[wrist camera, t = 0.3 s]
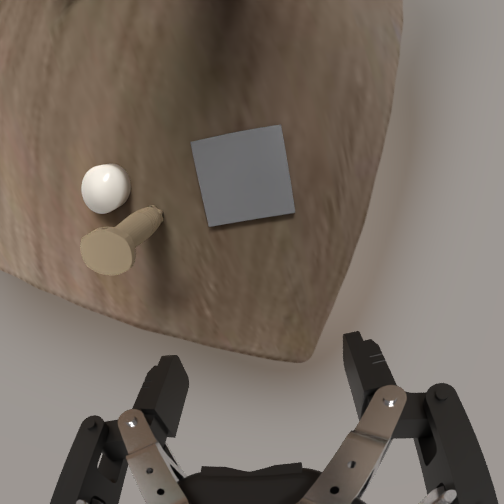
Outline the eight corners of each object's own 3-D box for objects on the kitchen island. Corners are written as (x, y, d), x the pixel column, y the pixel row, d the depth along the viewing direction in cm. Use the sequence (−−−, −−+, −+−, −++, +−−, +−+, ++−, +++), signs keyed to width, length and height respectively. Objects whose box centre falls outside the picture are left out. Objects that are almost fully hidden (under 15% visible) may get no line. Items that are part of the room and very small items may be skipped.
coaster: (192, 142, 36) (190, 142, 35) (280, 125, 35) (280, 124, 34) (210, 224, 40) (208, 226, 39) (294, 210, 39) (295, 212, 38)
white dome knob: (89, 170, 38) (77, 173, 35) (125, 157, 37) (114, 159, 34) (99, 212, 40) (88, 218, 37) (136, 202, 40) (126, 208, 36)
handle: (133, 199, 39) (77, 230, 25) (173, 198, 39) (128, 231, 25) (136, 230, 41) (85, 273, 27) (175, 231, 41) (134, 276, 27)
